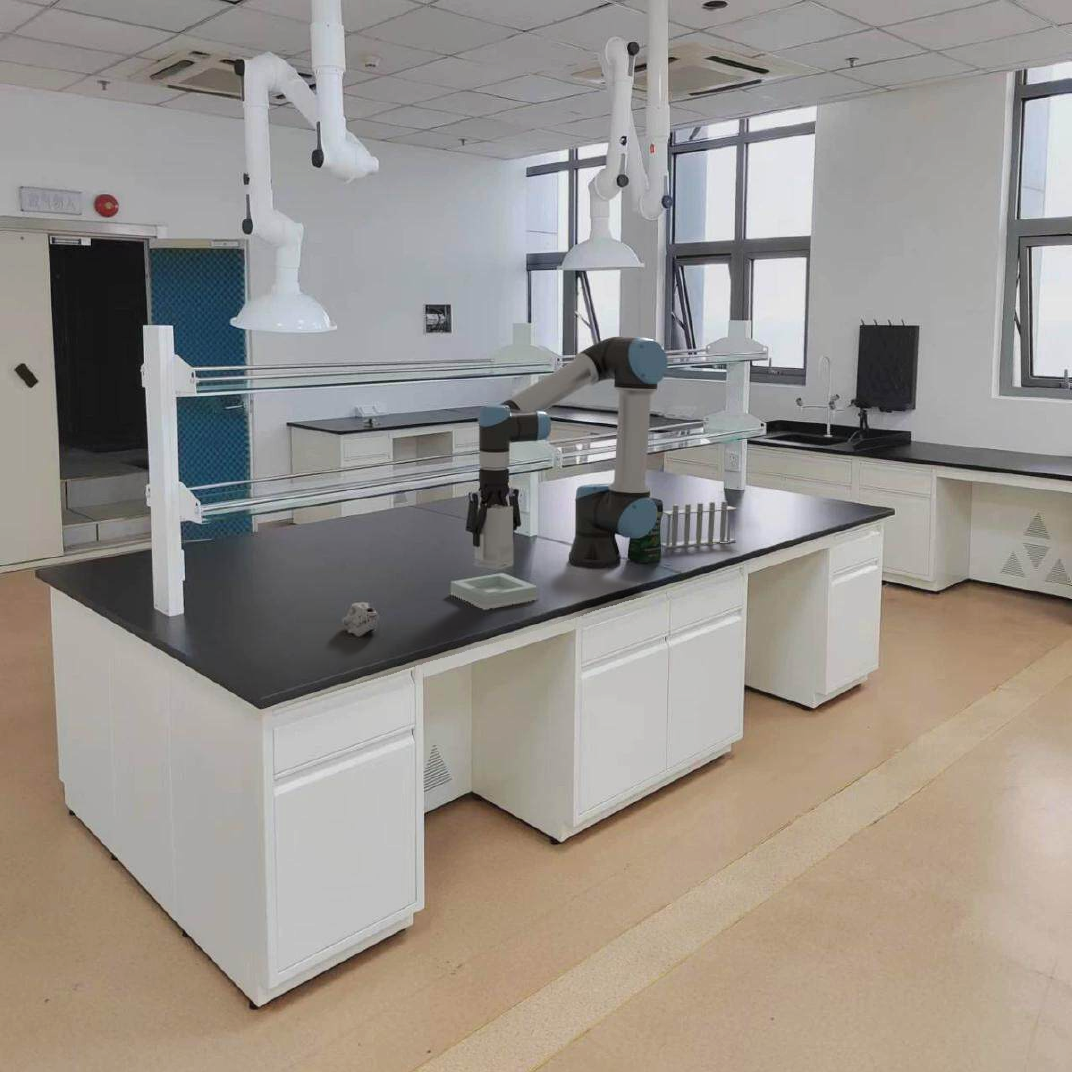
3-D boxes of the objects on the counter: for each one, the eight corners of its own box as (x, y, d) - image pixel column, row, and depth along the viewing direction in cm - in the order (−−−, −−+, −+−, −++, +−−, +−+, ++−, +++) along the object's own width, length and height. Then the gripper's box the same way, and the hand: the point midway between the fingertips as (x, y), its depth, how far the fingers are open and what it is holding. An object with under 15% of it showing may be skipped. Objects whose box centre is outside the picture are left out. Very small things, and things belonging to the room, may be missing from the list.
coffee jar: (639, 565, 297) (642, 502, 293) (623, 559, 304) (625, 497, 300) (666, 561, 302) (668, 499, 298) (649, 555, 309) (651, 494, 305)
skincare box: (513, 566, 262) (515, 506, 259) (498, 571, 257) (499, 509, 254) (487, 561, 267) (489, 502, 264) (471, 565, 262) (472, 505, 258)
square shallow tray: (502, 585, 275) (502, 572, 274) (537, 599, 262) (537, 586, 261) (450, 594, 266) (450, 581, 265) (484, 609, 253) (484, 596, 252)
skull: (366, 611, 242) (382, 586, 233) (375, 645, 238) (391, 621, 229) (334, 614, 238) (349, 589, 229) (342, 648, 234) (358, 624, 225)
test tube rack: (728, 539, 332) (730, 499, 329) (735, 542, 328) (738, 501, 325) (660, 546, 322) (661, 504, 319) (667, 549, 318) (669, 507, 315)
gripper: (519, 462, 265) (518, 548, 270) (450, 468, 254) (450, 558, 259) (536, 466, 259) (535, 554, 264) (466, 473, 248) (466, 565, 253)
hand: (493, 556), depth 262 cm, fingers closed on skincare box, 8 cm apart
